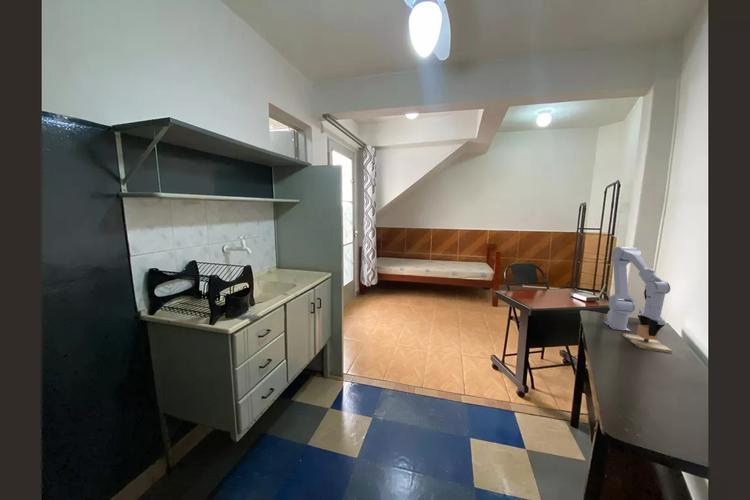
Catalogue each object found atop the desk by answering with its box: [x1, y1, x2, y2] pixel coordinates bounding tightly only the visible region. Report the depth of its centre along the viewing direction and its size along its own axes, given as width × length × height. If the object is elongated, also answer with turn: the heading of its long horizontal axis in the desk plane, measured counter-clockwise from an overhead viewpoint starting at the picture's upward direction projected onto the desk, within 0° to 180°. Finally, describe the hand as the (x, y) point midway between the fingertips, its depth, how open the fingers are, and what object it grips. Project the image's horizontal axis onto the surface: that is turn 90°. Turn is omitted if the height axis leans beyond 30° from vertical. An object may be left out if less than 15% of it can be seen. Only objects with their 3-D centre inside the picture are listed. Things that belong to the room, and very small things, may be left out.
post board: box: [622, 332, 673, 354], centre depth 133 cm, size 14×12×6 cm
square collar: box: [636, 323, 659, 340], centre depth 132 cm, size 5×5×5 cm
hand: (647, 333), depth 132 cm, fingers closed on square collar, 5 cm apart
